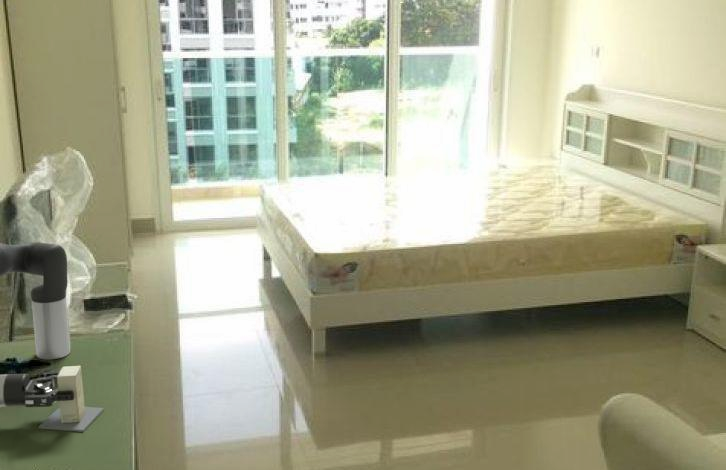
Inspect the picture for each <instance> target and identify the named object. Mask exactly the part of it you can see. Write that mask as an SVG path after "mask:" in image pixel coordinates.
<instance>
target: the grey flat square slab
mask: <svg viewBox="0 0 726 470" xmlns="http://www.w3.org/2000/svg"><path fill="white" fill-rule="evenodd" d="M84 407H85V411H84V414H83V416H82V418H81V420H80V422H71V423H61V413H60V406H59V407H58V408H57V409H56V410H55V411H54V412H53V413H51V414H50V415H49V417H47V418H46V419H45V420H44V421H43V422H42V423H41V424H40V425H39V426H38V429H40V430H42V429H43V430H44V429H45V430H53V431H54V430H55V431H56V430H57V431H67V432H81V433H84V432H85V431H86V430H87V429H88V428H89V427H90V426H91V425H92V424H93V422H94V421H95V420H97V418H98V417H100V416H101V414H102V413H103V412H104V411H105V408H104V407H93V406H92V407H91V406H84Z"/></svg>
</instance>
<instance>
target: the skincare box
mask: <svg viewBox="0 0 726 470" xmlns="http://www.w3.org/2000/svg"><path fill="white" fill-rule="evenodd" d="M59 371H60V372H59V374H58V375H56V376H57V381H58V382H57V383H58V388H57V391H74V396H75V398H74V400H69V401H58V402H59V407H60V413H61V423H71V422H80V420H81V418H82V416H83V414H84V411H85V407H86V406H85V396H84V387H83V385H84V383H83V376H82V366H81V365H68V366H67V365H66V366H62V367H61V369H60V370H59Z"/></svg>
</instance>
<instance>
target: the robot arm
mask: <svg viewBox="0 0 726 470" xmlns="http://www.w3.org/2000/svg"><path fill="white" fill-rule="evenodd" d="M10 272H13V273H16V272H17V273H23V274H30V275H35V276H41V277H42V279H43V282H42V284H39V285H38V286H35V287H34V288H32V289H31V291H30V297H31V298H30V299H31V301H30V302H31V309H32V310H31V311H32V320H33V331H34V333H33V334H34V343H35V345H34V346H35V353H36V358H38V359H41V360H57V359H61V358H65V357H66V356H68V355H69V354H70V353H71V348H72V347H71V334H70V333H71V331H70V321H69V320H70V319H69V318H68V317H69V315H68V304H67V290H68V288H67V287H68V258H67V252H66V251H65V249H64V247H62V246H61V245H58V244H56V243H55V244H54V243H45V242H39V241H38V242H29V243H22V244H7V243H3V242H0V277H1V276H3V275H6V274H7V273H10ZM59 372H60V370H59V371H58V370H57V371H44V372H43V371H42V372H38V377H37V378H34V379H33V378H31V377H30V375H29V374H28V373H9V374H6V373H5V374H0V408H2V407H24V406H25V408H42V407H43V408H47V407H49V408H50V407H53V404H56V403H57V402H59V401H69V400H74V398H75V396H74V391H58V381H57V376H58V374H59ZM56 390H57V391H56Z"/></svg>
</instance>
